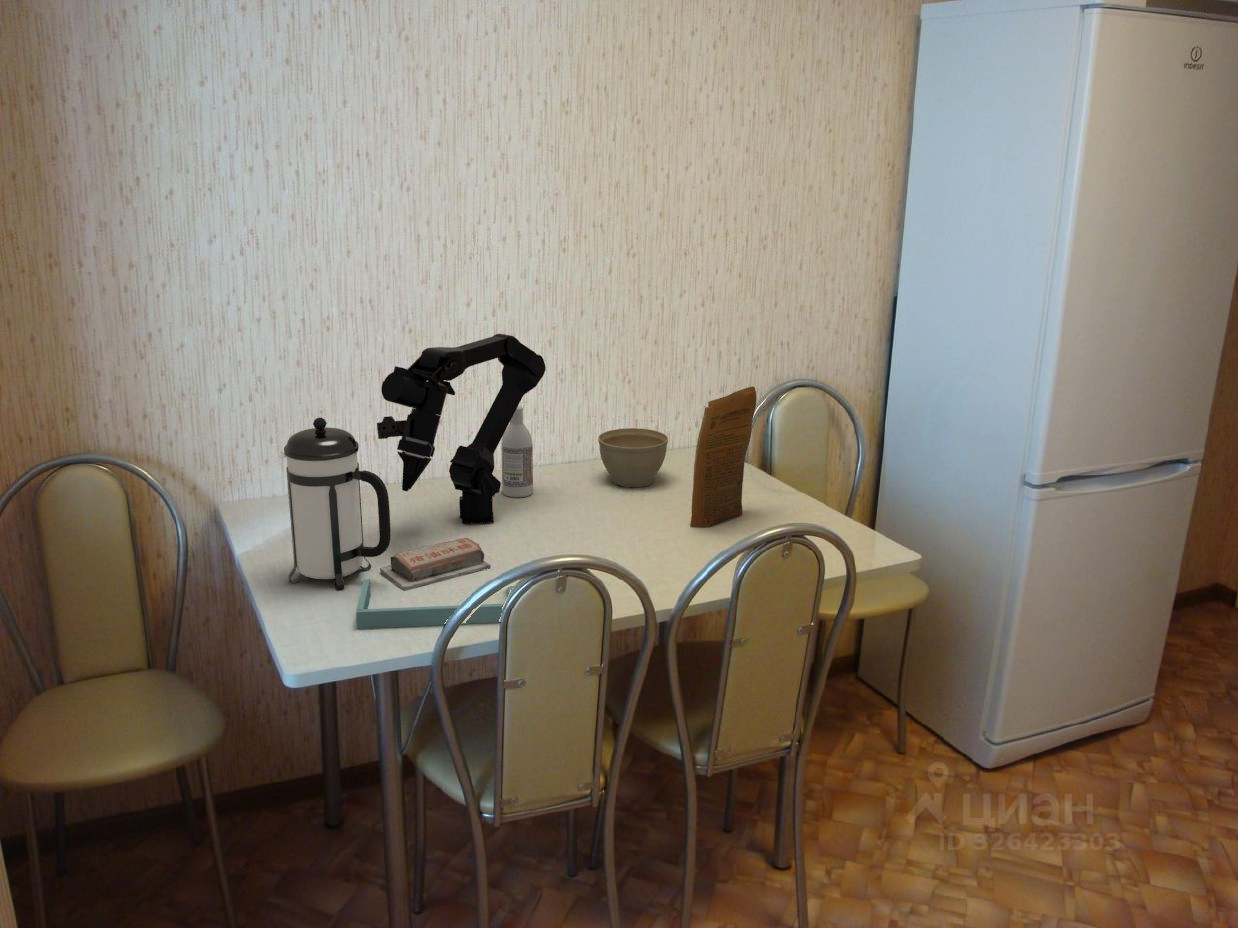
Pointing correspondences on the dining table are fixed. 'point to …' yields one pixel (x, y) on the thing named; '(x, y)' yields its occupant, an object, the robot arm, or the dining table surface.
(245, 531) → the dining table surface
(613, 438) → the planter bowl
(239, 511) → the dining table surface
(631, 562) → the dining table surface
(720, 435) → the pancake mix bag
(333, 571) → the coffee press
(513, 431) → the bath foam
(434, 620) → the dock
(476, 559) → the packaged product
